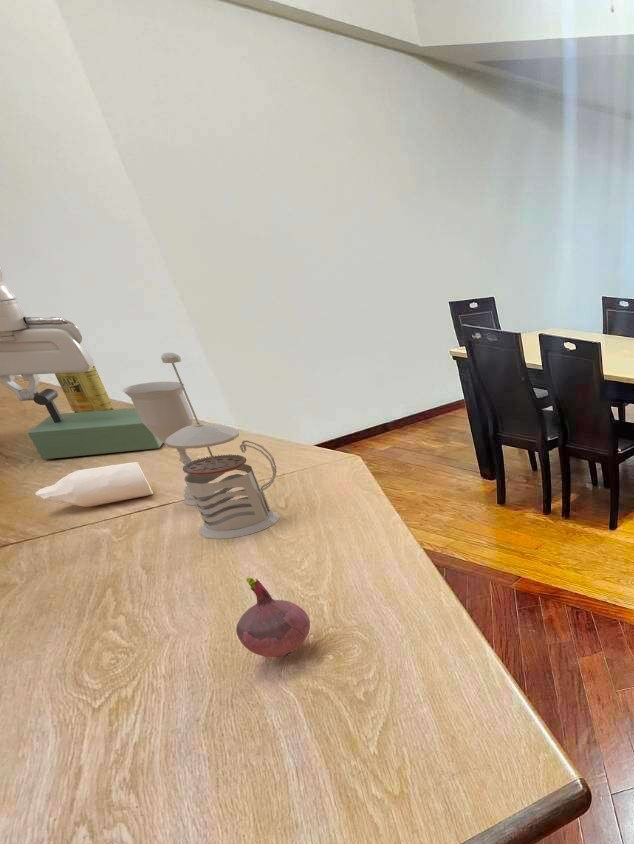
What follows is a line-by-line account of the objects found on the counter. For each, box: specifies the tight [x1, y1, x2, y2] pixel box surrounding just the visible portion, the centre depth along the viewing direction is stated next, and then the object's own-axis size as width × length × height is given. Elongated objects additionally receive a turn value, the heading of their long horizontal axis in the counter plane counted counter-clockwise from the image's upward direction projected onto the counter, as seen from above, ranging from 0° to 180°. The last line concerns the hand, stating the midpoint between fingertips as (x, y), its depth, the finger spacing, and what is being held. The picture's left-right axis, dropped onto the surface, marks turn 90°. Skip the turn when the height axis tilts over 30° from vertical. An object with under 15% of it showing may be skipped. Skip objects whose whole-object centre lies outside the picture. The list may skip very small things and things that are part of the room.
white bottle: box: [34, 461, 154, 508], centre depth 91 cm, size 6×12×6 cm, turn 136°
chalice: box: [122, 381, 220, 506], centre depth 91 cm, size 7×7×18 cm
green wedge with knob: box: [27, 388, 164, 460], centre depth 111 cm, size 16×12×10 cm
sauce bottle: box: [54, 318, 114, 413], centre depth 123 cm, size 7×6×20 cm
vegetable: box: [235, 577, 311, 658], centre depth 61 cm, size 6×6×10 cm
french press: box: [160, 352, 280, 540], centre depth 83 cm, size 10×12×25 cm
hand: (30, 399), depth 106 cm, fingers closed
